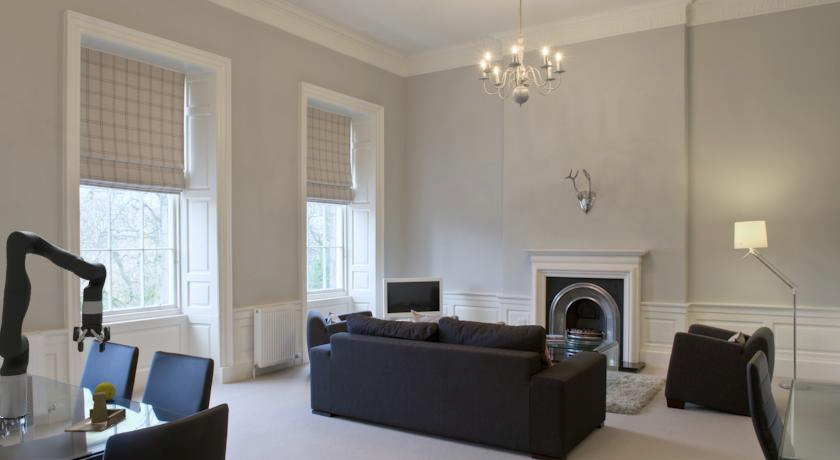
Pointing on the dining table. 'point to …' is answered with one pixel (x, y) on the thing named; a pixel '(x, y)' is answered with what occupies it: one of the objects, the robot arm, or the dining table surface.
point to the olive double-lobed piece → (99, 408)
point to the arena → (86, 424)
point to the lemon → (106, 390)
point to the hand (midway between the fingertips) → (91, 352)
